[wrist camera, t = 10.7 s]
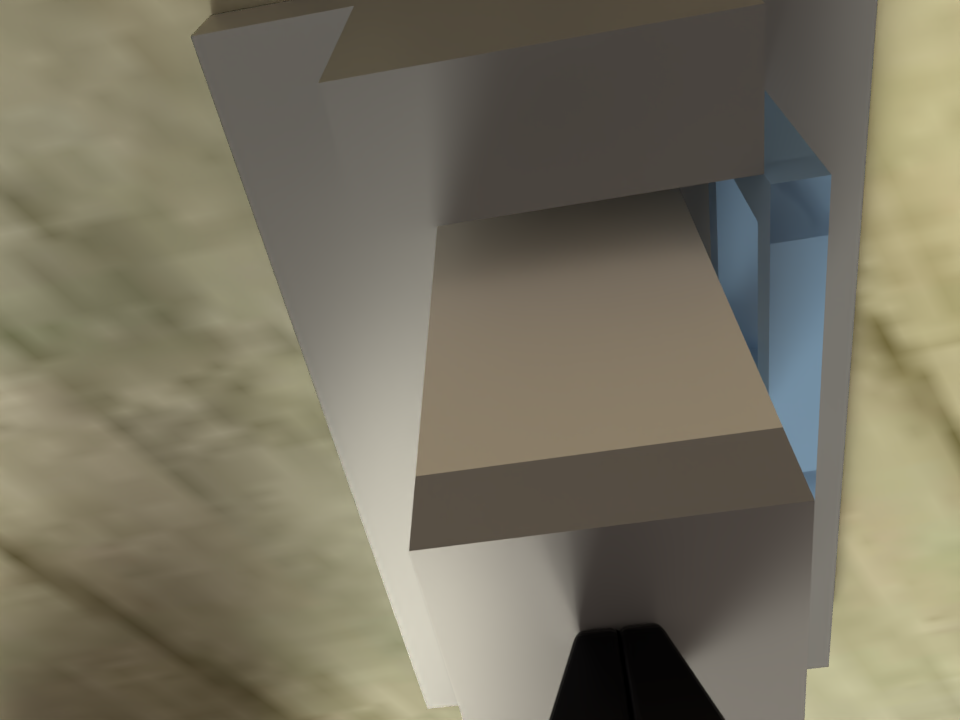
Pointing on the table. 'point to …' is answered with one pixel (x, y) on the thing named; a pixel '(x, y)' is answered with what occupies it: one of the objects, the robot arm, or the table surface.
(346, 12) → the rail
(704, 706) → the robot arm
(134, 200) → the table surface
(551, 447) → the grey boxy block piece
